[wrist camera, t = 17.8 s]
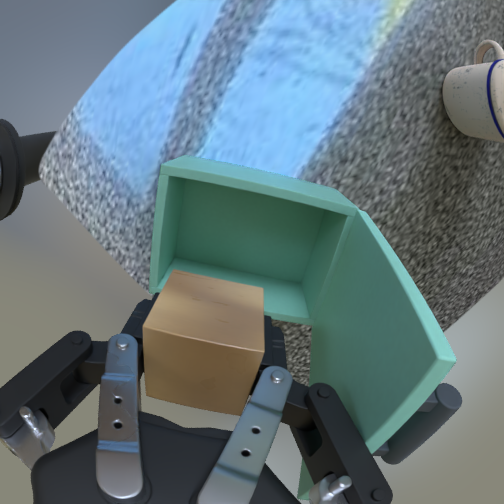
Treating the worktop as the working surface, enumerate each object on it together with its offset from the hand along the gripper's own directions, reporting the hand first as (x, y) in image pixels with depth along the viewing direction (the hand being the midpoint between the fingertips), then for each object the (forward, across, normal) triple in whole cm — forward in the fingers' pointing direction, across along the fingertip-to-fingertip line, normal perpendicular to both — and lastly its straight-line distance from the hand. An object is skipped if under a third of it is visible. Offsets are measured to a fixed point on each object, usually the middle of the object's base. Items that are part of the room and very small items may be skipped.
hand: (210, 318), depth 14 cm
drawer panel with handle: (+1, -8, 0) cm, 8 cm away
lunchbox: (+17, -2, 0) cm, 17 cm away
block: (0, 0, 0) cm, 0 cm away
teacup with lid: (+17, -23, -23) cm, 36 cm away
